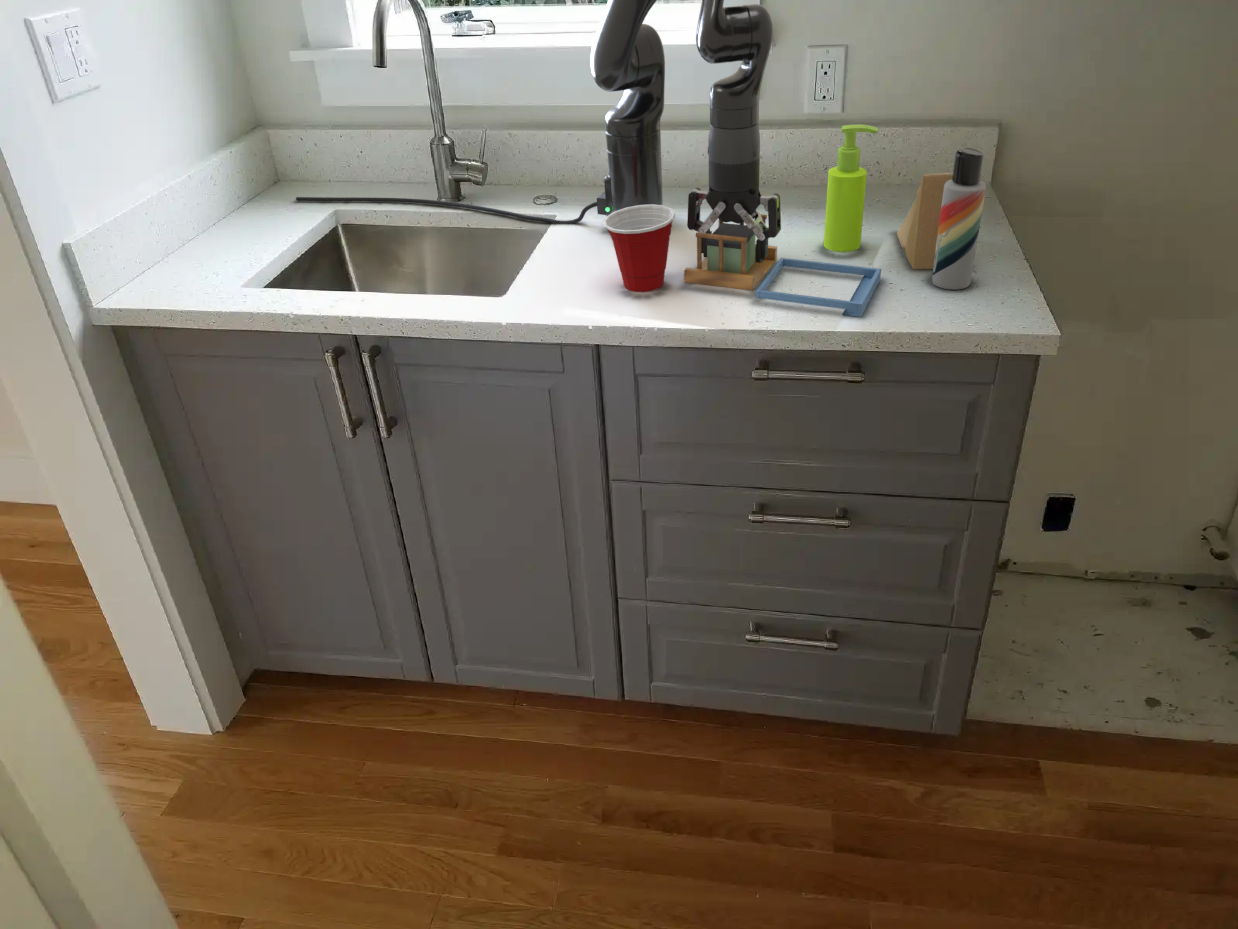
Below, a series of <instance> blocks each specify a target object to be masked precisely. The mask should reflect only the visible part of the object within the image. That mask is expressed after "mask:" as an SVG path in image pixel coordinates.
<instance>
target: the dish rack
mask: <svg viewBox="0 0 1238 929" xmlns="http://www.w3.org/2000/svg"><path fill="white" fill-rule="evenodd" d="M760 215H761V216H762V220H763V222H764V223H765V225H766V226H767V224H766V221H767V220H768V214H763V213H760ZM722 223H724V222H722V220H720V219H719V218H718V227H719V226H720V225H721V224H722ZM739 225H745V222H743V223H742V224H739ZM694 236H695V238H696V268H692V267H685V268H684V269H683V282H684V283H688V284H695V285H703V286H711V287H719V288H720V287H721V288H727V289H734V290H735V289H736V290H743V291H751V292H753V291H754V289H755V288H757V285H758V284H759V283H760V282H761V280H762V279H763V278H764V277H765V275H766V274H767V272H768V271H769V270H770V268H771V267H772V266H773V265H774V264H775V262H776V260H777V259H778V246H775V245H768V254H767V257H766V258H765V259H764V260H763V261H762V262H761V263H756V243H755V263H754V264H753V266H752V267H751V268H750V269H749V271H748V272H747V273H746V274H745V266H746V242H747V238H744V237H735V236H725V235H716V234H713V233H712V234H707V233H698V232H695V234H694ZM701 238H708V239H718V240H719V271H711V270H707V258H706V257H704V259H703V258H702V257H703V255H702V239H701ZM724 240H727V241H736V242H741V274H736V273H728V272H723V245H724ZM702 259H703V260H702Z"/></svg>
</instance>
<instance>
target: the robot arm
mask: <svg viewBox="0 0 1238 929" xmlns="http://www.w3.org/2000/svg"><path fill="white" fill-rule="evenodd" d="M657 1H658V0H607V3H606V6H605V9H604V12H603V14H602V17H601V19H600V22H599V25H598V27H597V30H596V32H595V36H594V38H593V42H592V46H591V51H590V70H591V75H592V78H593V80H594V83H595V84H596V85H597V86H598V87H599V89H601V90H602V91H604V92H609V93H616V92H623V93H622V96H621V98H620V99H619V100H618V101H617V103H615V105H614V106H612V107H611V108H610V109H609V110H608V111H607V113H606V114H605V118H604V126H605V128H604V129H605V139H606V140H605V141H606V158H607V172H608V174H607V175H606V176H605V177H604V179H603V183H604V184H603V185H604V191H603V192H602V193H601V194H599V195H598V196H597V197H596V201H595V202H592V203H590V204H588V205H586V206H585V207H584V208H583V209H582V210H581V212H580V214H579V216H578V217H577V218H574V219H570V220H559V219H553V218H547V217H541V216H534V215H526V214H522V213H517V212H513V211H509V210H504V209H497V208H493V207H487V206H481V205H475V204H469V203H461V202H455V201H446V200H445V201H444V200H434V199H424V198H423V199H422V198H405V197H403V198H402V197H355V196H353V197H327V196H326V197H325V196H324V197H323V196H322V197H320V196H319V197H318V196H296V197H295V201H296V202H381V203H382V202H384V203H385V202H386V203H411V204H412V203H413V204H427V205H437V206H448V207H456V208H462V209H468V210H469V209H470V210H476V211H481V212H487V213H494V214H499V215H503V216H507V217H508V216H509V217H514V218H518V219H521V220H527V221H534V222H543V223H547V224H553V225H575V224H576V223H579V222H581V221H583V219H584V217H585V215H586V213H587V212H588V211H589V210H591V209H594V208H595V207H596V209H597V210H596V212H597V215H600V216H601V215H602V216H605V218H606V217H607V216H608V215H610V214H611V213H613V212H615V211H618V210H621V209H624V208H627V207H632V206H637V205H651V204H654V205H663V206H664V202H663V172H662V171H663V170H662V169H663V168H662V166H663V165H662V140H661V138H662V137H661V136H662V135H661V134H662V133H661V118H662V117H663V116H662V115H663V113H664V109H665V88H666V87H665V84H666V83H665V81H666V79H665V78H666V56H665V50H664V45H663V42H662V38H661V36H660V35H659V33H658V32H657V30H656V29H655V28H654V27H653V26H651V25H649V24H646V23H644V22H645V19H646V17H647V15H648V14H649V12H650V10H651V9H652V8H653V6H654V5H655V4H656V2H657ZM724 2H725V0H701V2H700V9H699V15H698V19H697V26H696V31H695V44H696V48H697V51H698V53H699V55H700V57H701V58H702V60H704V61H705V62H706V63H708V64H711V65H717V64H719V65H720V64H726V63H735V62H741V63H740V65H739V67H738V68H737V70H736V71H735V72H734V73H732V74H730V75H728V76H725V77H723V78H720V79H718V80H716V81H714V82H713V83H712V84H711V86H710V90H709V131H708V138H707V139H708V140H707V142H708V145H707V155H708V158H707V159H708V191H706V190H701V188H700V187H695V188H694V189H692V190H691V191H690V192H689V193H688V196H687V198H688V199H687V222H686V223H687V224H686V227H687V229H688V230H689V231H695V232H696V233H707V234H713V230H711V228H712V227H713V225H714V224H715V223H716V222H717V221H718V220H719V219H720V220H722V222H723V223H733V224H738V225H740V224H742V223H743V222H744V225H747V226H748V228H749V229H750V230H752V231H753V232H754V234H755V235H756V237H755V238H757V239H755V244H756V263H761V262H762V261H763V260H764V259H765V258H766V257H767V254H768V246H769V239H770V238H772V239H774V238H776V237H777V236H778V235H779V233H780V232H781V230H782V219H781V218H782V217H781V214H782V213H781V212H782V210H781V195H780V194H779V193H773V194H772V195H762V194H761V191H760V165H761V164H760V162H761V159H760V158H761V132H760V123H759V122H760V121H759V118H760V114H759V113H760V92H761V86H762V82H763V78H764V74H765V69H766V66H767V64H768V59H769V56H770V53H771V50H772V45H773V41H774V34H775V29H774V28H775V27H774V20H773V18H772V15H771V13H770V11H769V10H768V8H766V7H765V6H764V5H762V4H760V3H751V4H742V5H734V6H732V5H731V6H724V4H725V3H724ZM705 200H706V202H707V204H708V205H709V207H710V208H711V210H712V211H711V212H710V213H709V215H708V217H706V218H705V220H704V221H702V220H701V206H702V205H703V204H704V203H705ZM760 205H762V206H763V208H764V211H766V212H767V220H768V222H767V223H768V226H767V224H766V225H765V223H764V222H763V220H762V216H761V215H760V214H761V213H760V212H759V210H758V208H759V206H760ZM606 231H607V232H609V231H608V229H606ZM701 239H702V254H703V255H702V257H703V258H707V245H706V240H707V239H708V238H701Z"/></svg>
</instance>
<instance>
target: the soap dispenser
mask: <svg viewBox="0 0 1238 929" xmlns="http://www.w3.org/2000/svg"><path fill="white" fill-rule="evenodd" d="M878 132H879V129H878V127H876V126H873V125H868V124H847V125H846V124H845V125H841V134H844V141H843V144H842V145H841V146H839V147H838V149H837V161H836V166H834V167H831V168H829V170H828V174H827V189H826V201H825V202H826V204H825V218H824V234H823V247H824V248H825V249H826V250H829V251H832V252H835V253H849V252H854V251H857V250H858V249H860V248H861V244H862V243H861V242H862V232H863V230H862V229H863V219H864V208H865V199H866V198H865V197H866V186H867V175H868V171H867V169H866V168H864V167H861V166H860V159H861V147H859V146H858V145H857V144H856V141H857V140H856V138H857V133H868V134H874V135H875V134H877V133H878Z"/></svg>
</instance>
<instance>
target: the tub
mask: <svg viewBox="0 0 1238 929" xmlns="http://www.w3.org/2000/svg"><path fill="white" fill-rule="evenodd" d="M712 234H716V235H725V236H735V237H744V238H747V242H746V266H745V274H746V273H747V272H748V271H749V269H750V268H751V267H752V266H753V264H754V263H755V244H756V238H757V237H756V235H755V234H754V232H753V231H752V230H750V229H749V228H748V226H747V225H746V224H744V225H740V224H738V223H729V222H723V223H722V224H721V225H720V226H719V225H718V227H717V228H716V229H715V230H714V231H712ZM706 245H707V270H711V271H719V240H718V239H707V240H706ZM723 272H728V273H736V274H741V242H736V241H727V240H724V245H723Z"/></svg>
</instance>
